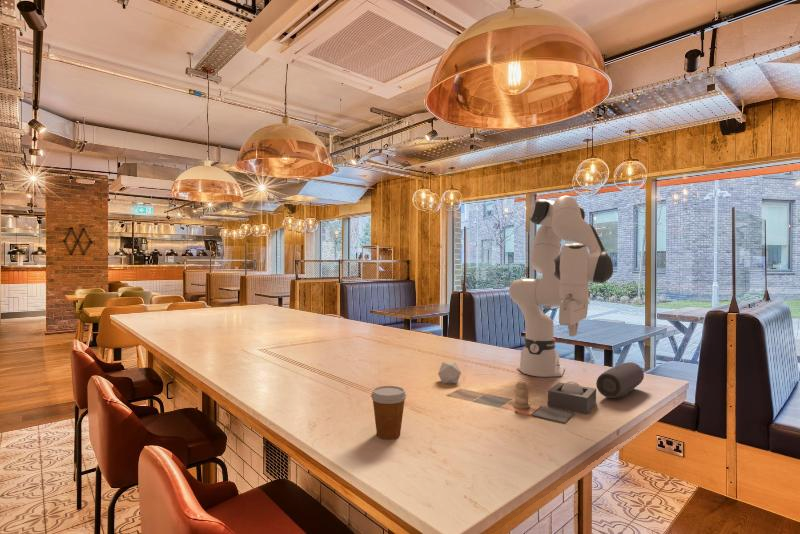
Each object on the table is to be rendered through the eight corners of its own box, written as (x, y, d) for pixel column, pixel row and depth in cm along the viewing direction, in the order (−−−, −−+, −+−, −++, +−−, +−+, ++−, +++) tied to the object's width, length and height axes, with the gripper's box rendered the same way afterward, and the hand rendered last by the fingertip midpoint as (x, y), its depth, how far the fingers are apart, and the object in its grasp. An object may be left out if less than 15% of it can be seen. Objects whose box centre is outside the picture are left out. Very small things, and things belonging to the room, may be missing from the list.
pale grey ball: (563, 397, 148) (564, 377, 148) (586, 402, 144) (586, 381, 144) (557, 403, 142) (557, 382, 142) (580, 408, 138) (581, 386, 138)
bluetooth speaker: (618, 385, 166) (618, 358, 166) (645, 390, 159) (645, 363, 159) (593, 398, 150) (594, 369, 150) (622, 405, 144) (623, 374, 143)
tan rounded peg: (520, 401, 143) (520, 377, 143) (533, 406, 139) (534, 381, 139) (509, 405, 140) (510, 380, 140) (523, 410, 136) (523, 385, 135)
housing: (558, 396, 151) (558, 382, 151) (596, 403, 144) (596, 388, 144) (547, 406, 142) (547, 390, 142) (587, 414, 135) (587, 398, 134)
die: (454, 389, 160) (467, 367, 163) (434, 377, 162) (447, 354, 165) (451, 391, 168) (463, 369, 171) (432, 379, 170) (444, 357, 172)
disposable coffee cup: (370, 428, 122) (370, 385, 122) (404, 427, 123) (404, 384, 123) (371, 442, 113) (371, 396, 113) (407, 441, 114) (408, 395, 113)
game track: (459, 389, 158) (459, 388, 158) (574, 413, 135) (574, 412, 135) (445, 396, 150) (445, 395, 150) (565, 423, 127) (565, 421, 127)
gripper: (575, 296, 132) (574, 342, 132) (591, 291, 148) (590, 332, 149) (553, 295, 135) (553, 339, 136) (572, 290, 152) (571, 330, 152)
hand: (573, 335), depth 142 cm, fingers closed
